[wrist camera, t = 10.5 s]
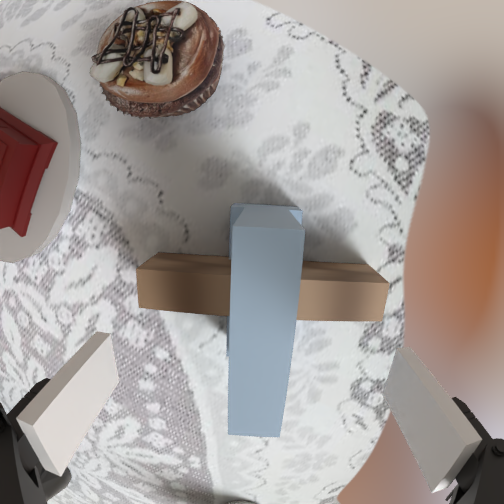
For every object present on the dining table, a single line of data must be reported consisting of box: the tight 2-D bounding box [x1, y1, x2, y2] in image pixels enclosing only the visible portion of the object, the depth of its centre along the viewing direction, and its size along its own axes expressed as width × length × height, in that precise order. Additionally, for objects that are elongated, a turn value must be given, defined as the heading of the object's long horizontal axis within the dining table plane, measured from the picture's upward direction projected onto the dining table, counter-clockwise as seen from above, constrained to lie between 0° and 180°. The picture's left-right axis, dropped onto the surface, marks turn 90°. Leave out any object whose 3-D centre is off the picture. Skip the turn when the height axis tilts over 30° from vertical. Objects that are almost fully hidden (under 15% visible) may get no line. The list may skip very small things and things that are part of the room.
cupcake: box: [90, 1, 225, 119], centre depth 17 cm, size 10×10×10 cm
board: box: [136, 252, 389, 321], centre depth 23 cm, size 18×3×5 cm, turn 87°
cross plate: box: [227, 203, 305, 437], centre depth 20 cm, size 12×5×12 cm, turn 177°
